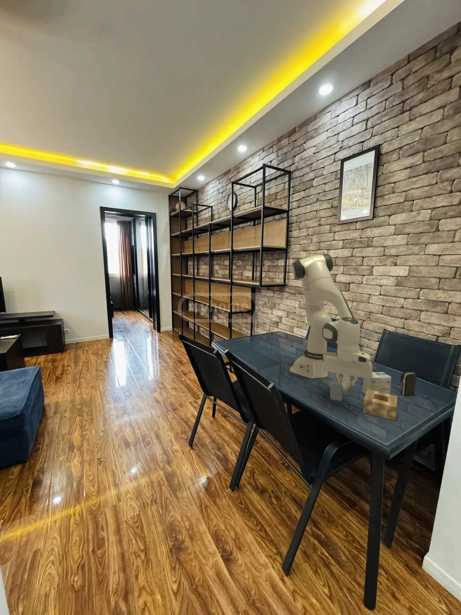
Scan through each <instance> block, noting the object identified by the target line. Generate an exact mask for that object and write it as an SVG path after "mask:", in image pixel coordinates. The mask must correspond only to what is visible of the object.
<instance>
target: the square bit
mask: <svg viewBox="0 0 461 615" xmlns="http://www.w3.org/2000/svg"><path fill="white" fill-rule="evenodd" d="M329 389H330V392H329V397H330V399H329V400H334V401H340V402H342V400H343V394H342V393H341V383H338V379H330V388H329Z"/></svg>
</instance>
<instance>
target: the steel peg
mask: <svg viewBox="0 0 461 615" xmlns="http://www.w3.org/2000/svg"><path fill="white" fill-rule="evenodd" d="M352 377H353V376H350V375H349V373H344V374H341V378H342V380H341V393H342V395H344V396H345V395H346V396H350V395H351V392H352V385H351V380H352Z"/></svg>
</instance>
